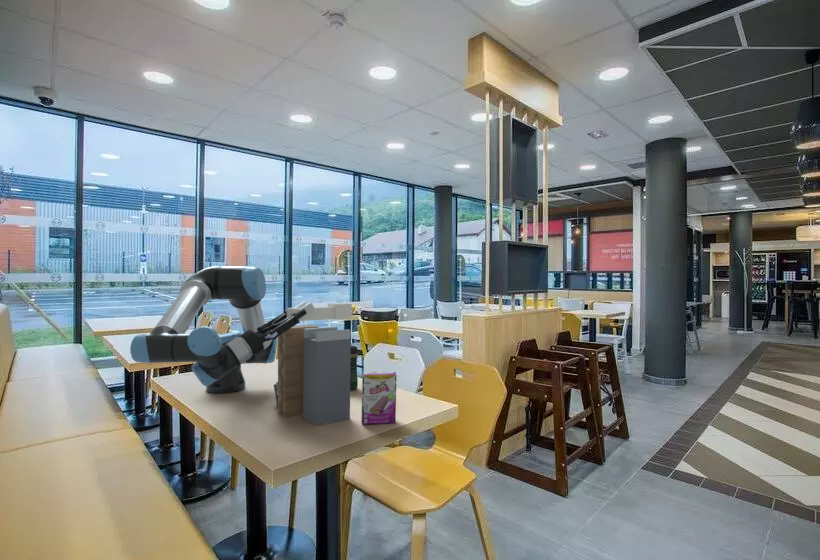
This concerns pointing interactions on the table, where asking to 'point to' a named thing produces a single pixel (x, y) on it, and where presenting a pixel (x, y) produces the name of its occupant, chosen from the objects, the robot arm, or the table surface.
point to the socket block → (326, 375)
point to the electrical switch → (276, 391)
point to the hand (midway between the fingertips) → (309, 305)
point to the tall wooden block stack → (291, 370)
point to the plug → (326, 312)
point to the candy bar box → (378, 397)
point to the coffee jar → (353, 367)
